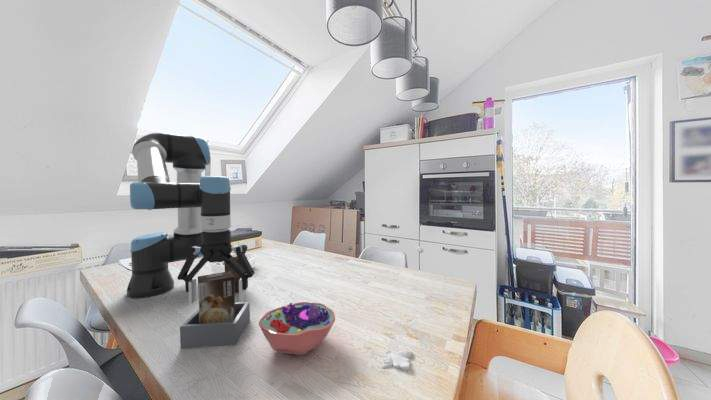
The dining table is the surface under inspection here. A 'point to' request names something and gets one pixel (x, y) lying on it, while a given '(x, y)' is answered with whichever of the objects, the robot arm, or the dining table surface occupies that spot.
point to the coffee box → (216, 298)
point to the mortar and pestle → (236, 277)
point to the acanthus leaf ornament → (398, 360)
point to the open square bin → (214, 329)
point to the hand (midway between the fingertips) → (217, 301)
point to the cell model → (297, 327)
